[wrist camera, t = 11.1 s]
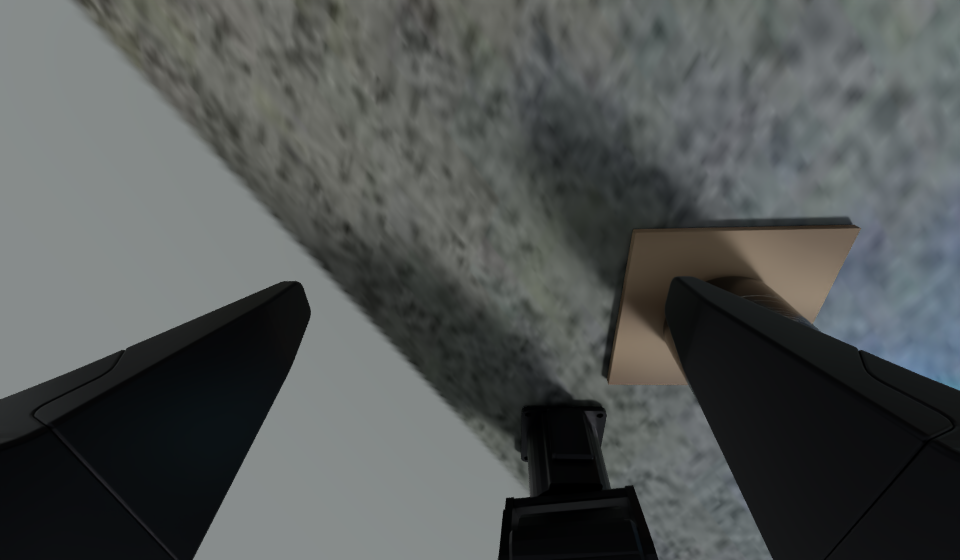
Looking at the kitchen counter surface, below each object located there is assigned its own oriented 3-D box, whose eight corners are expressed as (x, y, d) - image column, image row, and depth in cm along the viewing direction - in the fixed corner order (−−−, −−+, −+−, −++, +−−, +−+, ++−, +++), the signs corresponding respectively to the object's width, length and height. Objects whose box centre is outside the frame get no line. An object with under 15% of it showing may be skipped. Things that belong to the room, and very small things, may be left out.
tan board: (777, 380, 27) (781, 385, 27) (606, 379, 28) (608, 384, 28) (853, 224, 21) (861, 228, 21) (633, 229, 22) (635, 232, 21)
